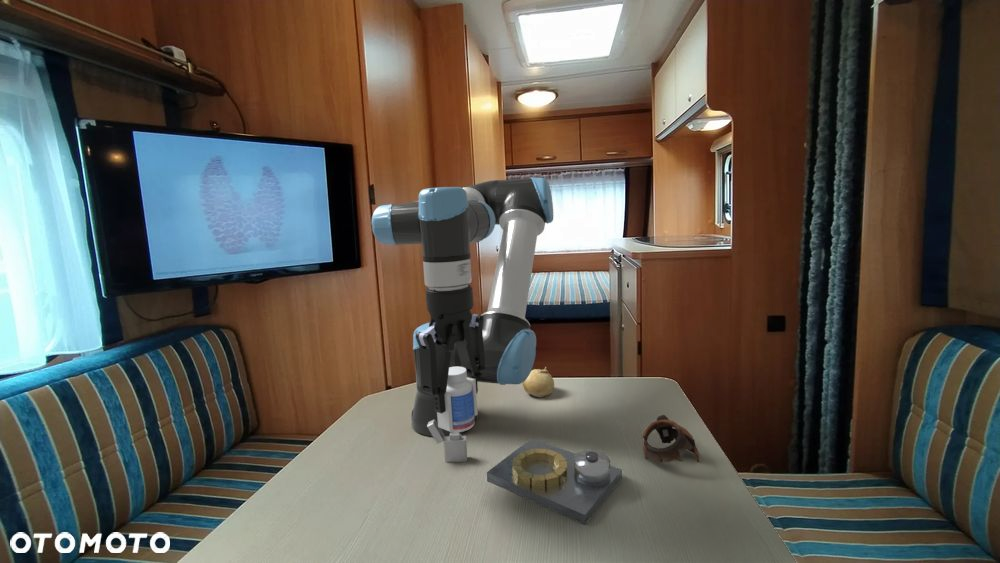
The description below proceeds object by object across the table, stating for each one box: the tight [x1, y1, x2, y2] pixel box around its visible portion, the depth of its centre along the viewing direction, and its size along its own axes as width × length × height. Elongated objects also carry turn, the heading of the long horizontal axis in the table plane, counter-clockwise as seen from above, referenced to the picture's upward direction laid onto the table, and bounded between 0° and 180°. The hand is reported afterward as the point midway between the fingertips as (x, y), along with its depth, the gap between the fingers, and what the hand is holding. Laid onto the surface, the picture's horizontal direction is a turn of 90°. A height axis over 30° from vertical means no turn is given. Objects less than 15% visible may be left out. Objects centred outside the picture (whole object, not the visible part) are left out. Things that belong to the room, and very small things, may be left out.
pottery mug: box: [642, 414, 701, 463], centre depth 81 cm, size 12×10×8 cm
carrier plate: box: [486, 437, 623, 525], centre depth 75 cm, size 19×14×5 cm
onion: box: [522, 366, 555, 398], centre depth 111 cm, size 8×8×7 cm
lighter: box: [427, 419, 468, 463], centre depth 83 cm, size 7×2×8 cm, turn 88°
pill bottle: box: [446, 366, 475, 433], centre depth 72 cm, size 6×5×10 cm
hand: (458, 420), depth 73 cm, fingers closed on pill bottle, 5 cm apart
